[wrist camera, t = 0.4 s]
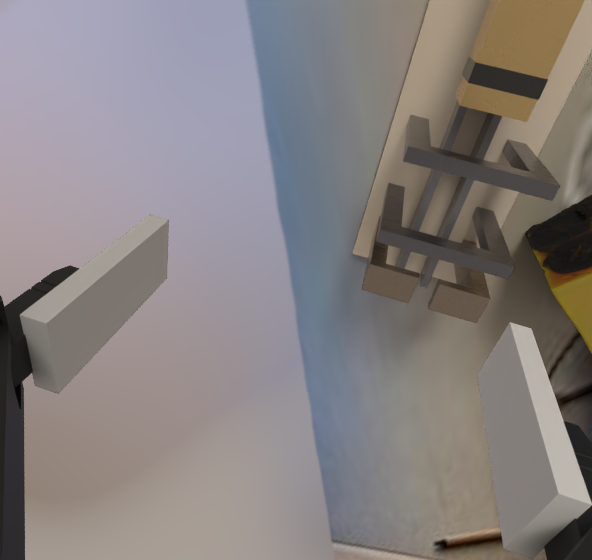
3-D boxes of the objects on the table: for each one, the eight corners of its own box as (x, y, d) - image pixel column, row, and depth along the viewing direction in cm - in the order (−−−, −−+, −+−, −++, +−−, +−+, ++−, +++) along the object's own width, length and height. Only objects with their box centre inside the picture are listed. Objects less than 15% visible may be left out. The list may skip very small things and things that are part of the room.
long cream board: (556, -414, 22) (574, -472, 20) (805, -382, 21) (861, -438, 18) (353, 250, 44) (349, 265, 42) (469, 283, 43) (473, 301, 41)
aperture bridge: (380, 212, 42) (369, 264, 33) (475, 238, 41) (490, 298, 32) (372, 234, 43) (361, 289, 34) (465, 260, 42) (476, 323, 34)
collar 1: (410, 112, 37) (408, 146, 27) (524, 141, 36) (560, 185, 27) (406, 124, 37) (402, 161, 28) (518, 153, 36) (552, 200, 27)
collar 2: (389, 179, 40) (380, 229, 31) (492, 207, 39) (514, 267, 30) (385, 189, 40) (376, 241, 31) (487, 217, 39) (508, 279, 30)
